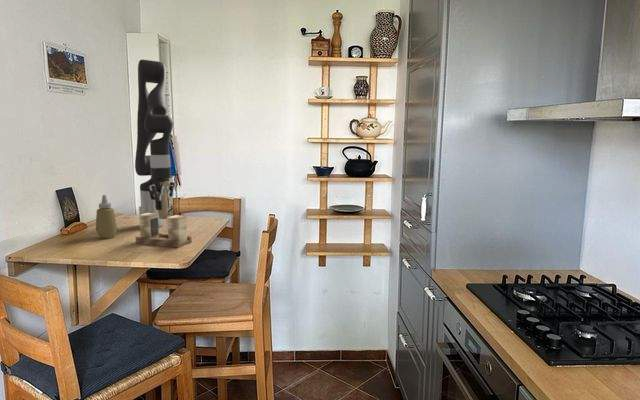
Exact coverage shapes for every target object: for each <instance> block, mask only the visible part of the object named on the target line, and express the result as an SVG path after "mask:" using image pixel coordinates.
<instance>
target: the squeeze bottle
mask: <svg viewBox="0 0 640 400" xmlns="http://www.w3.org/2000/svg"><path fill="white" fill-rule="evenodd" d="M95 216H96V217H95V218H96V219H95V231H96V233H97V234H98V237H99V239H104V238H105V239H111V238H115V237H116V233H117V231H118V227H117V226H118V225H117V220H116V215H115V210H114V208H112V203H111V202H109V201H108V198H107V194H103V195H102V197H101V202H100V203H98V208H97V209H96V215H95Z"/></svg>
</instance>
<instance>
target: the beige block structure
mask: <svg viewBox="0 0 640 400" xmlns="http://www.w3.org/2000/svg"><path fill="white" fill-rule="evenodd" d="M138 216H139V217H138V219H139V220H138V221H139V234H140V235H139V236H135V237H134V238H135V244H139V245H140V244H142V245H151V246H159V247H168V248H177V249H178V248H182V247H184V246H186V245H188V244H190V243H192V236H189V235H188V234H187V233H188V231H187V229H188V228H187V215H178V214H175V215H172V216H167V230H168V231H167V232H168V233H159V231H160V230H159V227H158V214H156V213H145V214H141V215H139V214H138Z"/></svg>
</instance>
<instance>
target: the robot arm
mask: <svg viewBox="0 0 640 400" xmlns="http://www.w3.org/2000/svg"><path fill="white" fill-rule="evenodd" d="M147 83H149V84H156V85H155V87H153V88H152V89H151V90H150V91H149V90H148V88H147ZM137 85H138V86H137V88H138V91H137V92H138V97H137V98H138V101H137V114H136V115H137V125H136V127H137V132H136V133H137V136H136V137H137V141H136V149H135V151H136V152H135V158H134V159H135V160H134V169H135V172H136V175H137V176H140V177H141V176H142V177H145V176H149V177H150V179H149V180H147V181H145V182H142V183H140V185H139V193H140V205H139V207H138V210H139V211H138V213H139V214H138V216H139V215H141V214H145V213H156V214H158V210H162V201H161V197H162V195H163V190H164V186H163V184H161V185H162V186H160V182H165V181H170V179H171V177H172V169H171V167H172V165H171V162H172V161H171V156H170V140H171V133H172V130H173V127H174V121H173V118H172V117H171V116H170V115H168V114H167V104H166V103H167V102H166V90H167V68H166V65H165V63H164V62H162V61H158V60H156V61H155V60H151V59H150V60H149V59H140V60H139V61H138V65H137ZM157 134H162V137H160V138H156V139H154V138H155V137H156V136H157ZM148 146H149V149H150V154H149V155H147V154H146V153H147V149H148ZM174 187H175V182H172V181H170V185H169V186H167V187H166V191H167V201H168V209H169V208H170V198H171V197H173V193H174ZM157 192H160V193H157ZM158 195H159V197H158ZM163 220H164V219H159V214H158V228H160V227H161V228H162V227H163V226H164V225H163V224H164V223H163Z"/></svg>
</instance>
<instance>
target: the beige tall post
mask: <svg viewBox="0 0 640 400" xmlns="http://www.w3.org/2000/svg"><path fill="white" fill-rule="evenodd" d="M170 182H171V181H170V180H169V181H165V182H160V186H162V185H161V184H163V186H164V190H163V195H162V197H161V201H162V210H158V214H159V219H163V220H166V219H167V220H168V214H169V213H168V212H169V208H168V201H167V191H166V187H167V186H169V185H170ZM157 193H160V192H157ZM158 197H159V195H158Z"/></svg>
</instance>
